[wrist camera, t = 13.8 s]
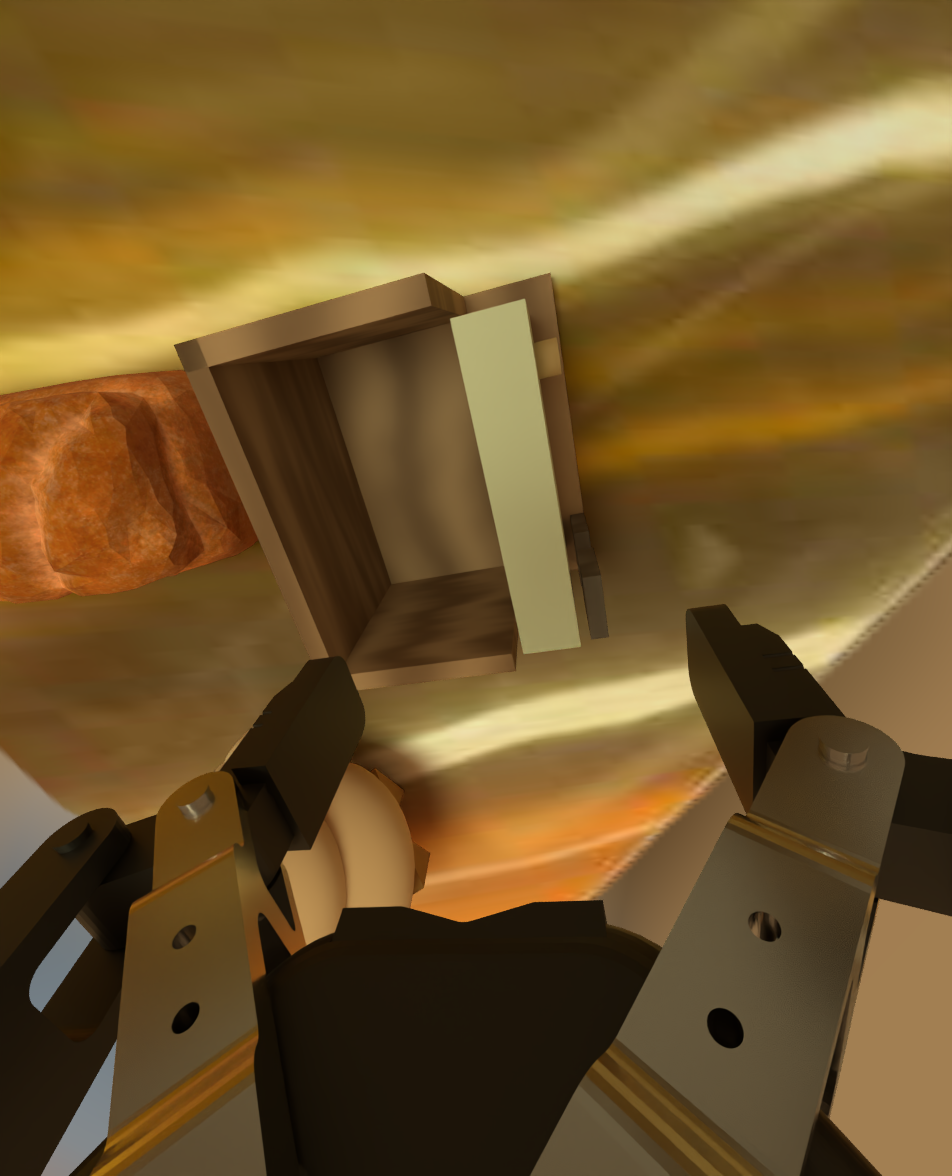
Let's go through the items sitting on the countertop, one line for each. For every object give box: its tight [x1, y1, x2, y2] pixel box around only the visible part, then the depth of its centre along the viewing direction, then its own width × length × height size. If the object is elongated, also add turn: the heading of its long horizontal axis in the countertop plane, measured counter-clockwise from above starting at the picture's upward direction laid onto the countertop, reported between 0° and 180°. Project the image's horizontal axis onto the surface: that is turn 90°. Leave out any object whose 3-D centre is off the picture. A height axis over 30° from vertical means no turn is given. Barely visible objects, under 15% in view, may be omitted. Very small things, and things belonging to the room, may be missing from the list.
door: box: [450, 299, 581, 654], centre depth 29 cm, size 4×16×14 cm, turn 13°
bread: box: [0, 370, 258, 604], centre depth 34 cm, size 14×26×16 cm, turn 98°
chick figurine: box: [214, 727, 430, 945], centre depth 43 cm, size 30×28×23 cm
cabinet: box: [174, 273, 609, 690], centre depth 31 cm, size 18×20×14 cm
